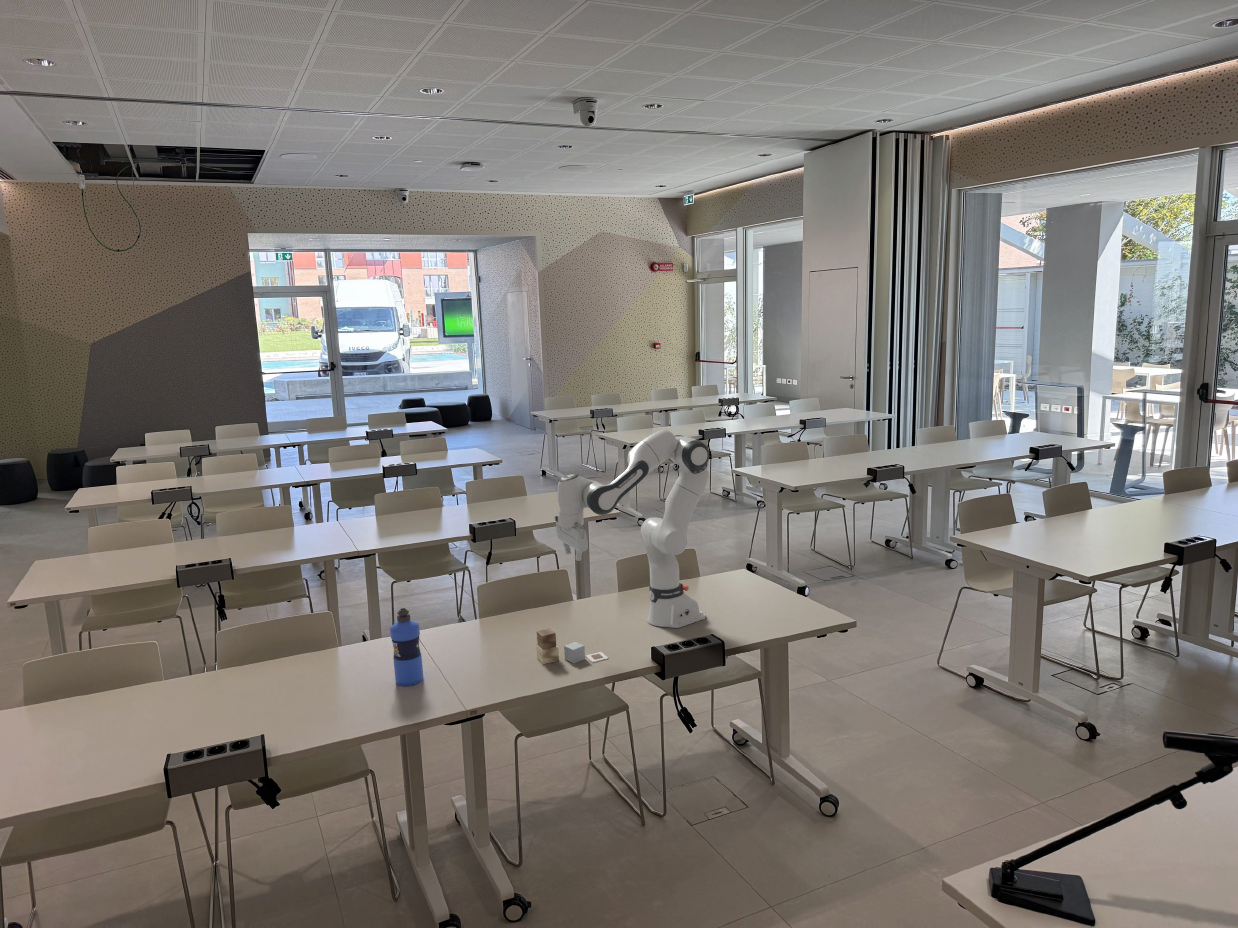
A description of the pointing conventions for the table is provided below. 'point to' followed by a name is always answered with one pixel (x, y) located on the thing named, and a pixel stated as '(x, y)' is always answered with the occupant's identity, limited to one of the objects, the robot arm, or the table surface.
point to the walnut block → (546, 639)
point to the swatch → (596, 657)
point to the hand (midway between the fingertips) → (573, 556)
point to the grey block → (574, 652)
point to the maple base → (547, 654)
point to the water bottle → (406, 650)
